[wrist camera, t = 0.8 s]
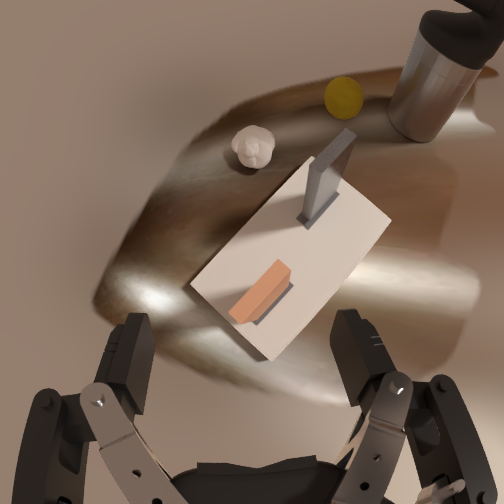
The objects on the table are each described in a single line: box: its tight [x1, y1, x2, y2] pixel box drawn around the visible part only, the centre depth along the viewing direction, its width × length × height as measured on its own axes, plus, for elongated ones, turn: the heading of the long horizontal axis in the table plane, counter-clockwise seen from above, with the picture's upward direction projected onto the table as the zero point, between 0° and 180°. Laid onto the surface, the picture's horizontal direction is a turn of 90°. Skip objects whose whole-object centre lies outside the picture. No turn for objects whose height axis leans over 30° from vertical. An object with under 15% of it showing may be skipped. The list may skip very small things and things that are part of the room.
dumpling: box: [227, 125, 275, 169], centre depth 36 cm, size 7×5×4 cm
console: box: [190, 156, 392, 362], centre depth 33 cm, size 22×13×2 cm, turn 137°
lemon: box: [324, 77, 363, 120], centre depth 34 cm, size 6×6×8 cm
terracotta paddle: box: [228, 259, 291, 324], centre depth 25 cm, size 5×1×12 cm, turn 137°
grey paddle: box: [302, 128, 357, 222], centre depth 26 cm, size 5×1×12 cm, turn 137°
